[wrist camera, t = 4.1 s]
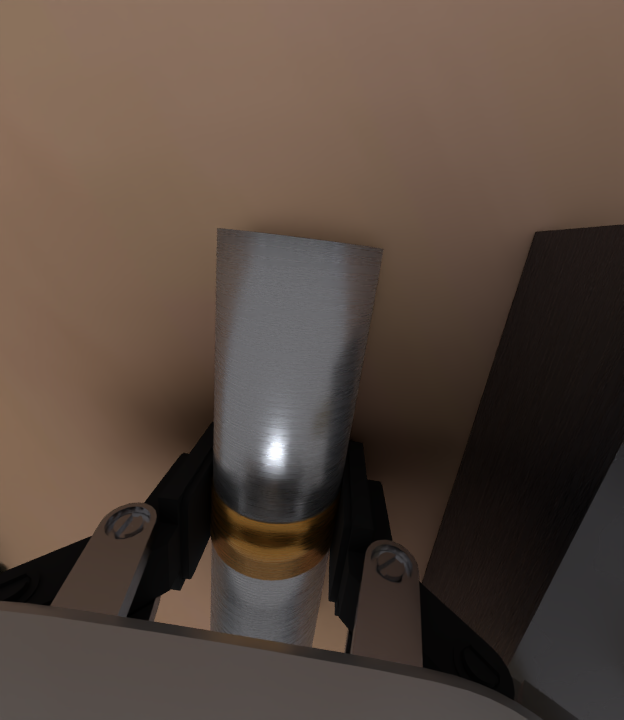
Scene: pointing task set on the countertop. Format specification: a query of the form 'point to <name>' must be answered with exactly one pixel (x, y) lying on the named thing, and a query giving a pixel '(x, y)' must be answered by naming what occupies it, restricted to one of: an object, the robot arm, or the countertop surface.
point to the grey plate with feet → (549, 482)
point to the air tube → (282, 422)
